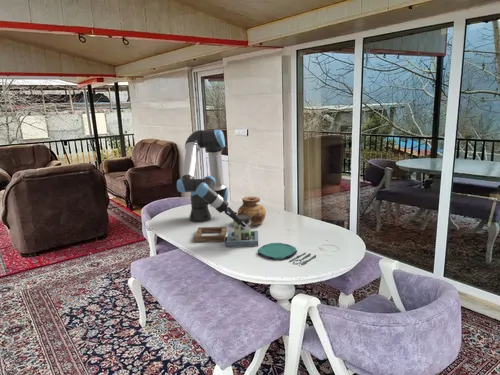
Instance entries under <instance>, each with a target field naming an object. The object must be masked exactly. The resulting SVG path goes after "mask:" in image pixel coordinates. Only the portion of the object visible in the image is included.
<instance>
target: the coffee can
mask: <svg viewBox="0 0 500 375" xmlns="http://www.w3.org/2000/svg"><path fill="white" fill-rule="evenodd" d="M236 216H237V217H238V218H239V219H240V220H241V221H243V222H244V223H245V224H246V225H248V226H249V227H250V229H249V230H248V231H246V230H245V229H244V228H242V227H241V226H240V225H239V226H238V224H237V223H236V222H235V221H234V220H233V219H232V220H233V223H232V224H233V231H234V240H251V231H252V228H251V227H252V225H251V219H250V218H251V216H250V215H246V214H240V215H238V214H236ZM239 222H240V221H239ZM239 222H238V223H239Z"/></svg>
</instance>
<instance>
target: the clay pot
mask: <svg viewBox="0 0 500 375" xmlns="http://www.w3.org/2000/svg"><path fill="white" fill-rule="evenodd" d="M241 199H242V205H241V206H240V207H238V209H237V215H240V214H246V215H250V216H251V218H250V219H251V226H258V225H260V224H262V223H263V222H264V221H265V218H266V214H267V213H266V208H265V207H264V206H263V205H261V204H259V203H260V201H261V199H260V197H258V196H245V197H242V198H241Z"/></svg>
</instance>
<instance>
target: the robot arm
mask: <svg viewBox="0 0 500 375" xmlns="http://www.w3.org/2000/svg"><path fill="white" fill-rule="evenodd" d="M225 147H226V140H225V135H224V132H223V131H222V130H221V129H200V130H199V129H198V130H196V131H194V132H192V133H191V134H190V135H189V136H188V137H187V138H186V140H185V144H184V150H185V154H184V161H183V168H182V173H181V179H177V181H176V189H177V192H179V193H190V204H191V205H190V206H191V210H190V213H189V221H190V222H195V223H202V222H207V221H210V220H211V219H212V214H211V211H210V210H209V206H210V207H211V208H214V209H215V210H216V211H217V212H218V213H220V214H222V213H223V212H224V214H225V215H226V216H228V217H229V218H231V219H232V220H234V221H235V222H236V223H237V224H238V226H239V225H240V226H241V227H242V228H244V229H245V230H246V231H248V230H249V229H250V227H249V226H248V225H246V224H245V223H244V222H243V221H241V220H240V219H239V218H238V217H237V216H236V215H238V211H234V210H232V208H231V207H230V206H229V202H228V200H229V199H228V197H229V187H227V185H226V183H224V173H223V172H224V170H223V159H222V151H223V150H224V148H225ZM200 149H205V152H206V153H208V154H207V155H208V162H209V163H208V164H209V166H208V167H209V173H210V175H207V176H204V177H203V178H196V172H197V171H196V168H197V162H198V152H200ZM208 205H209V206H208ZM239 221H240V222H239ZM238 222H239V223H238Z"/></svg>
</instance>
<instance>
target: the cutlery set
mask: <svg viewBox="0 0 500 375" xmlns="http://www.w3.org/2000/svg"><path fill="white" fill-rule="evenodd" d="M296 253H298V250H297V247H296V246H293V245H290V244H287V243H282V242H270V243H268V244H264V245H262V246H261V247H259V248H258V249H257V254H260V255H261V256H263V257H265V258H268V259H275V260H277V261H278V260H284V259H286V258H291V257H292V256H294V255H295V254H296ZM305 254H306V252H304V253H301V254H300V255H297V256H296V257H294V258H292V259H290V260H289V261H288V263H289V262H290V263H291V262H293V264H294V263H296V262H297V263H296V265H299V264H301V265H303V266H305V265H307V264H308V262H310V261H311V259H312V260H313V259H315V258H317V255H316V254H314V255H313V256H312V257H310V258H308V259H307V260H304V259H306V258H307V257H309V256H311V253H308V254H306V255H305ZM303 255H305V256H303ZM302 256H303V257H302ZM300 257H302V258H301V259H299V258H300ZM298 260H299V261H298ZM302 260H303V261H302ZM295 261H296V262H295ZM298 263H299V264H298Z"/></svg>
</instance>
